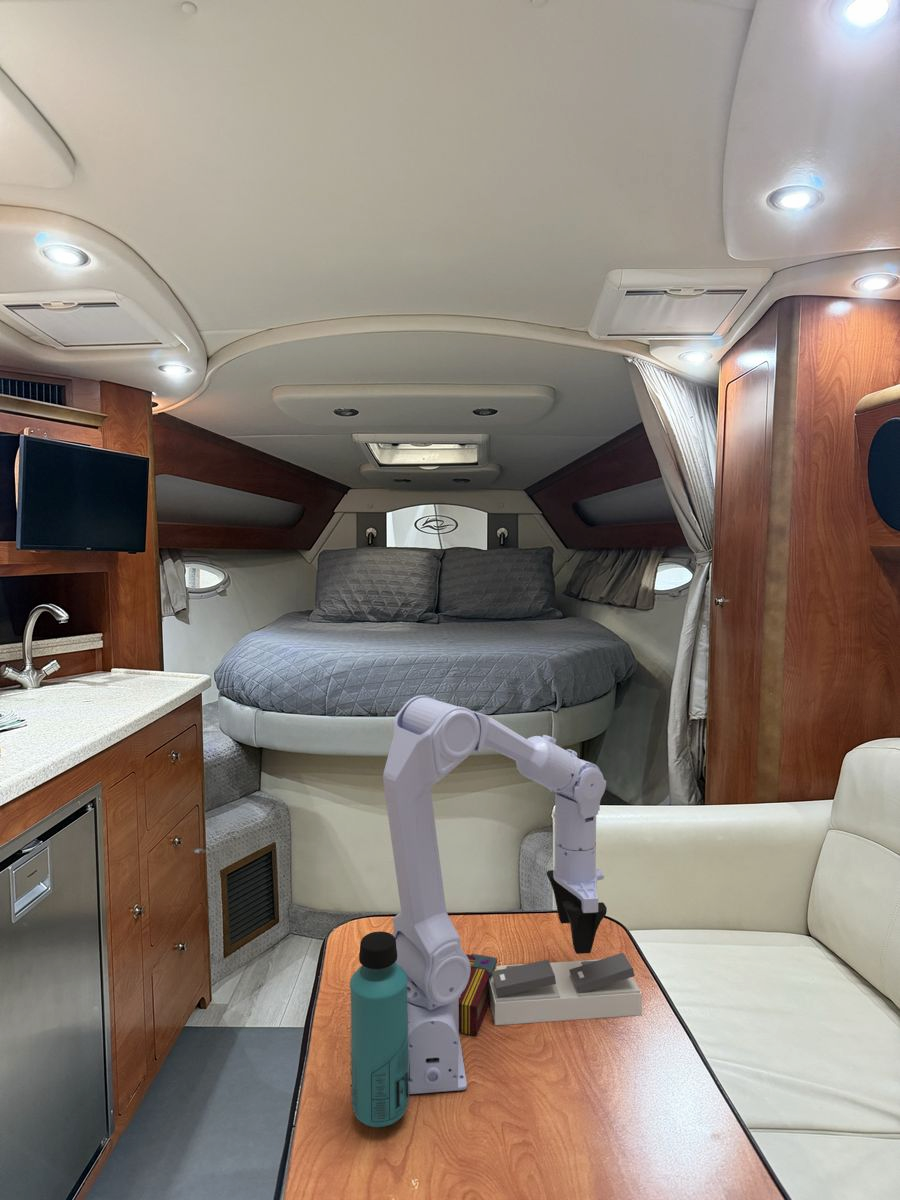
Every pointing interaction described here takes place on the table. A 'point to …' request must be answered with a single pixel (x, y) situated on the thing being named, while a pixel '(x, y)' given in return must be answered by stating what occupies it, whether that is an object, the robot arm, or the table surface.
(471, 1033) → the decorative book
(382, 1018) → the beverage bottle
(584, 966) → the rocker outer
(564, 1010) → the base
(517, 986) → the rocker inboard
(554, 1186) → the table surface
